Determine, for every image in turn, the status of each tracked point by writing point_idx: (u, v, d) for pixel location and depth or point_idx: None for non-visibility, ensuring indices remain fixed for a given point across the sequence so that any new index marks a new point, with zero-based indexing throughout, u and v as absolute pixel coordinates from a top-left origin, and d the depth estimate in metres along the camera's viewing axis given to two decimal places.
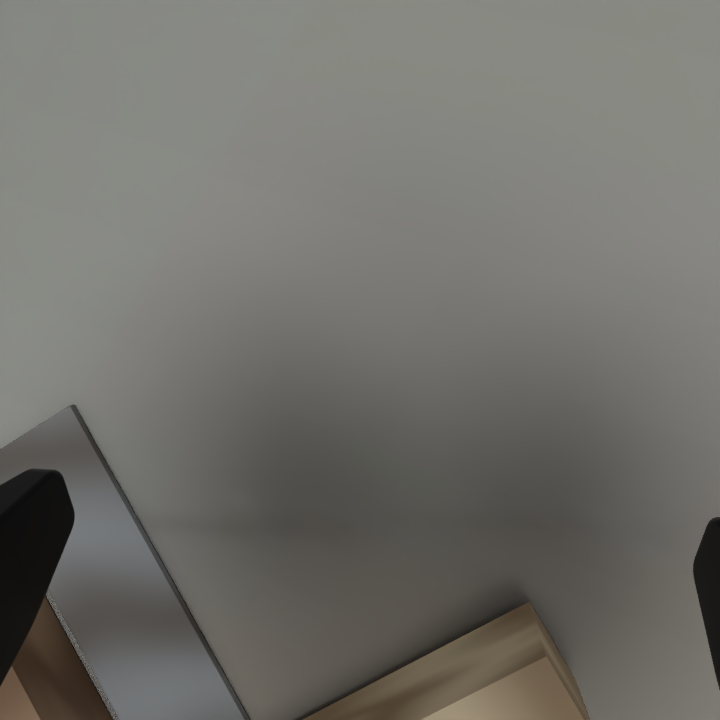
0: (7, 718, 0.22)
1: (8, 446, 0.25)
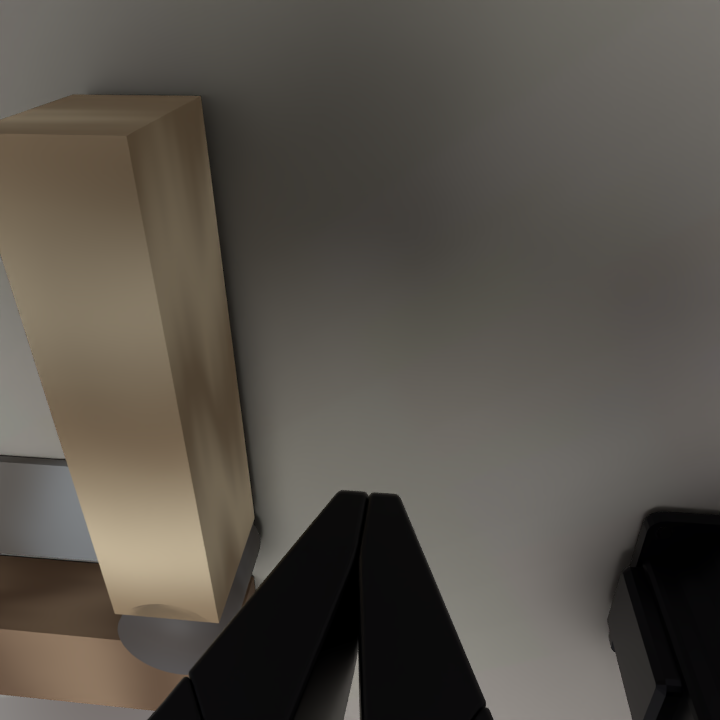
0: (4, 648, 0.22)
1: None
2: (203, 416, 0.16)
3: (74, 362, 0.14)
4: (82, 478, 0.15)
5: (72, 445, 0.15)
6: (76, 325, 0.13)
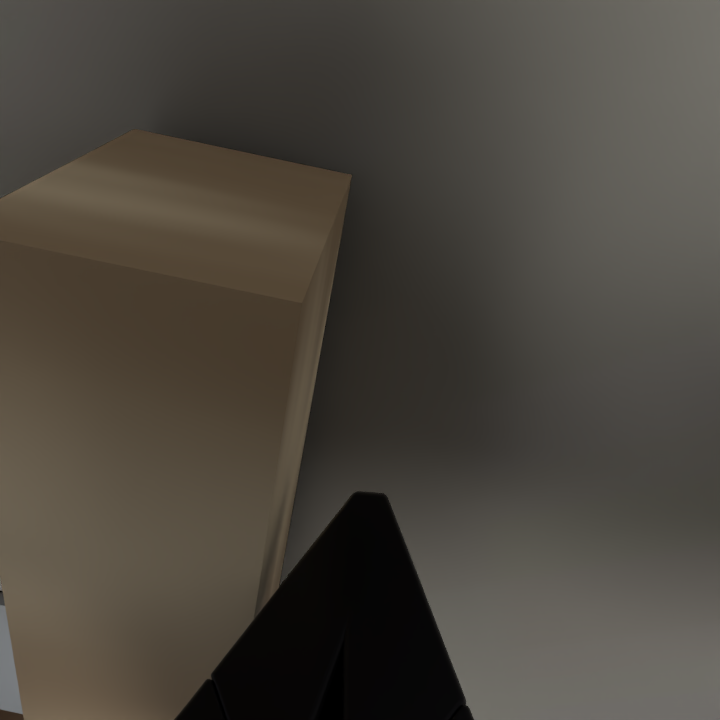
0: None
1: None
2: None
3: (77, 611, 0.08)
4: None
5: (40, 706, 0.09)
6: (95, 565, 0.07)
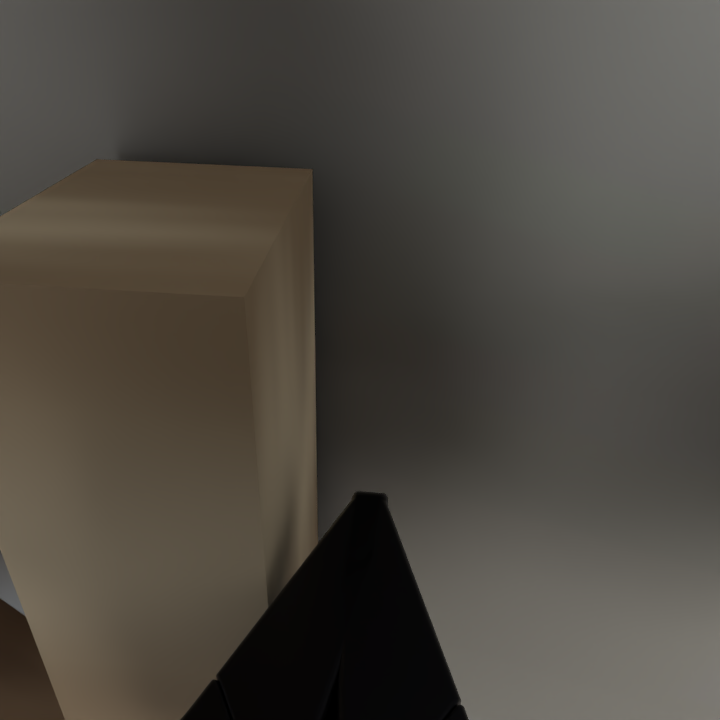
0: None
1: None
2: None
3: (100, 634, 0.08)
4: None
5: None
6: (109, 585, 0.07)
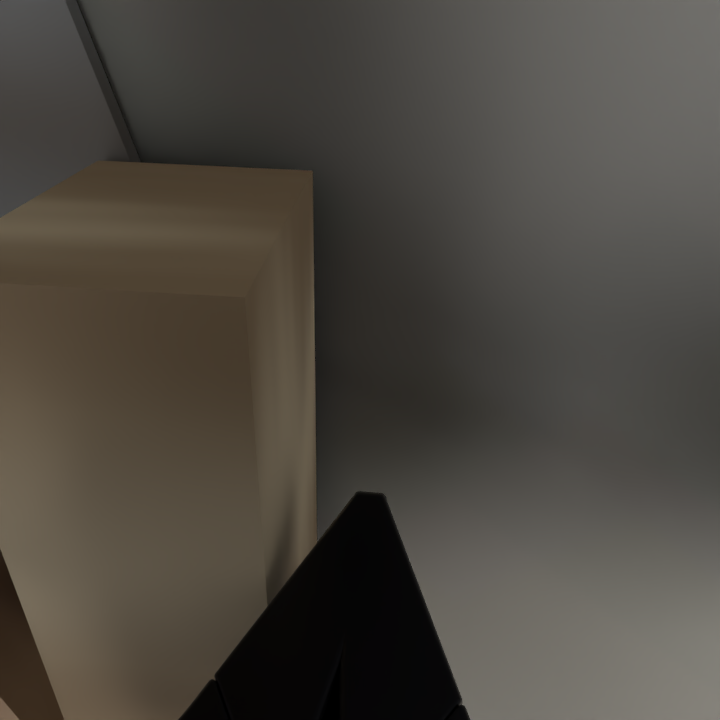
0: None
1: None
2: None
3: (100, 634, 0.08)
4: None
5: None
6: (107, 585, 0.07)
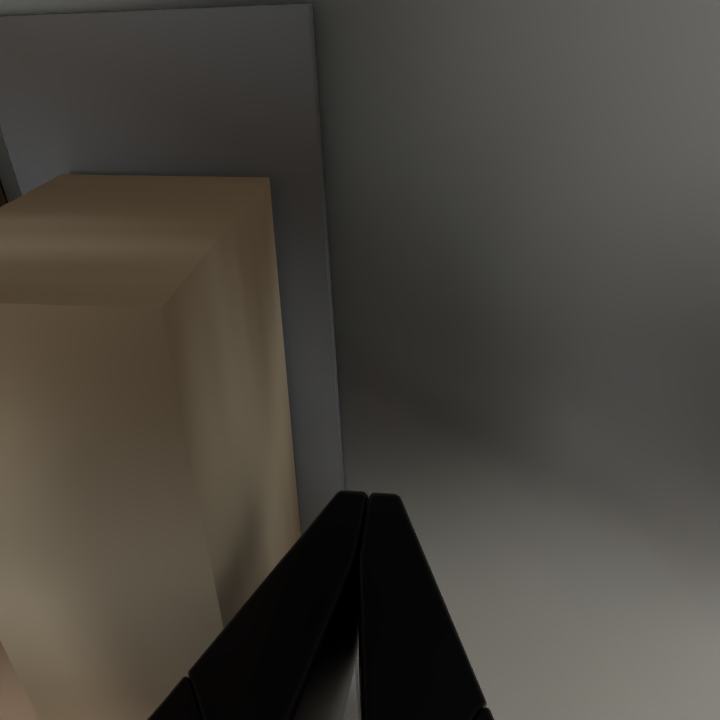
0: None
1: (72, 20, 0.08)
2: None
3: (64, 639, 0.08)
4: None
5: None
6: (65, 592, 0.08)
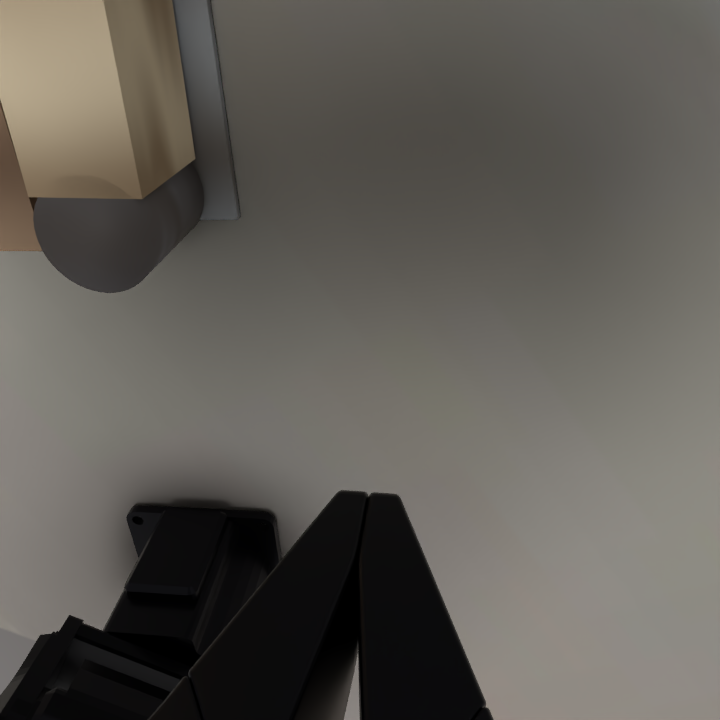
0: None
1: None
2: None
3: None
4: None
5: None
6: None
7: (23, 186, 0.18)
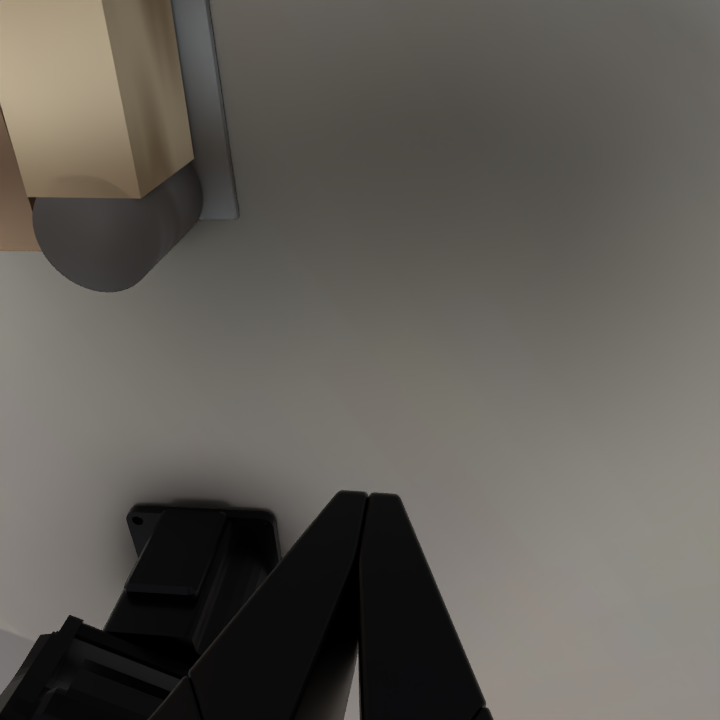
0: None
1: None
2: None
3: None
4: None
5: None
6: None
7: (22, 187, 0.18)
